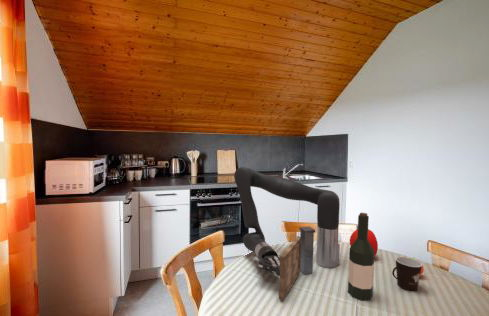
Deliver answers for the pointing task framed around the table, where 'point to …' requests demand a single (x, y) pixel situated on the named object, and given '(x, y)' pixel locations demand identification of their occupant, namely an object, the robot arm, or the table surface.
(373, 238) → the tomato
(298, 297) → the table surface
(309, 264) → the gate post
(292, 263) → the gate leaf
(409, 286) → the coffee mug
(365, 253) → the wine bottle
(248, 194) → the robot arm
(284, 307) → the table surface
